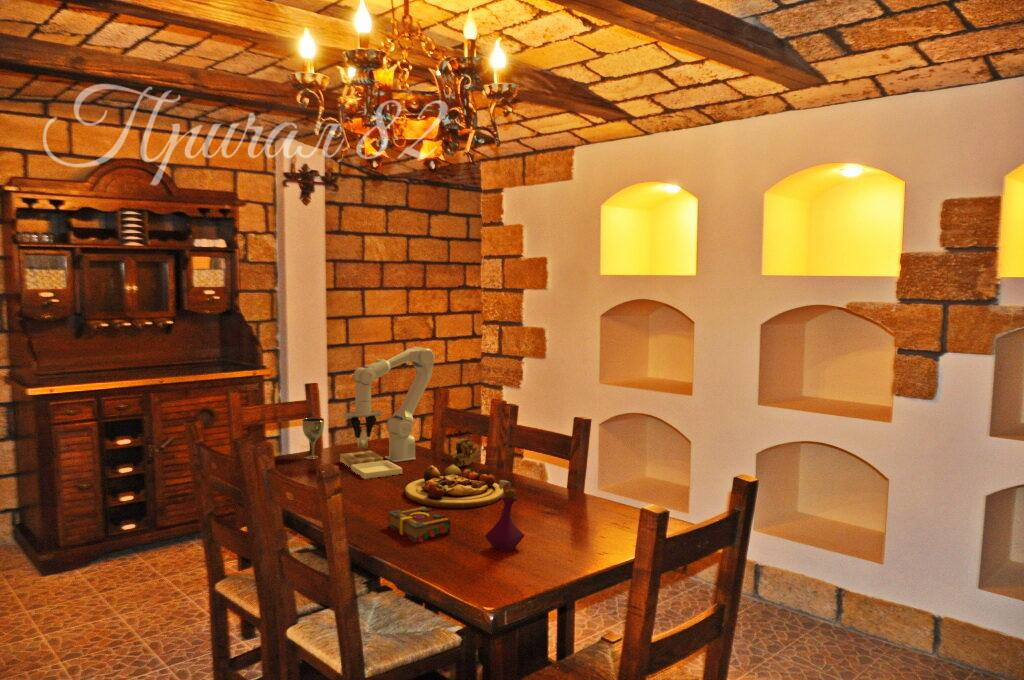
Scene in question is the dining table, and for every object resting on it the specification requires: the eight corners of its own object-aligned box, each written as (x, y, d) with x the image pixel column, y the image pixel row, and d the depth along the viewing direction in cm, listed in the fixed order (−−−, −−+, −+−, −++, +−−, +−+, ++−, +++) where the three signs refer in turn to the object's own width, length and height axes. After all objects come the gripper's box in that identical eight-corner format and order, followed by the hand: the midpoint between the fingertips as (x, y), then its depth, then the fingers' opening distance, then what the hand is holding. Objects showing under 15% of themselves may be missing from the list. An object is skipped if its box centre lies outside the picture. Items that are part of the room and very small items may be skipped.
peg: (365, 446, 273) (365, 424, 272) (368, 447, 270) (369, 426, 269) (356, 446, 271) (356, 425, 270) (359, 448, 268) (359, 427, 267)
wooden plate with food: (457, 517, 215) (458, 489, 214) (383, 494, 234) (384, 469, 234) (523, 496, 240) (524, 471, 239) (451, 477, 260) (452, 454, 259)
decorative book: (423, 520, 211) (423, 503, 211) (453, 536, 199) (453, 518, 198) (388, 527, 205) (388, 510, 204) (416, 545, 192) (417, 526, 191)
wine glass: (328, 458, 279) (328, 419, 278) (312, 462, 272) (312, 422, 271) (313, 454, 283) (313, 416, 282) (297, 458, 277) (297, 419, 275)
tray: (387, 466, 269) (387, 460, 269) (402, 474, 259) (402, 468, 258) (350, 470, 262) (350, 464, 262) (364, 479, 251) (364, 473, 251)
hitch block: (370, 458, 280) (370, 450, 280) (383, 465, 270) (383, 457, 270) (340, 462, 274) (340, 454, 273) (352, 469, 264) (352, 461, 263)
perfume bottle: (502, 540, 196) (504, 474, 194) (524, 547, 191) (526, 480, 189) (484, 548, 190) (485, 480, 188) (506, 555, 185) (508, 485, 184)
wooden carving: (463, 471, 265) (463, 444, 264) (451, 470, 266) (451, 443, 265) (478, 461, 280) (479, 435, 280) (467, 459, 282) (468, 434, 281)
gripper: (377, 397, 276) (376, 433, 277) (340, 399, 268) (339, 436, 269) (384, 400, 270) (384, 436, 271) (347, 402, 262) (346, 440, 263)
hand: (362, 436), depth 270 cm, fingers closed on peg, 4 cm apart
